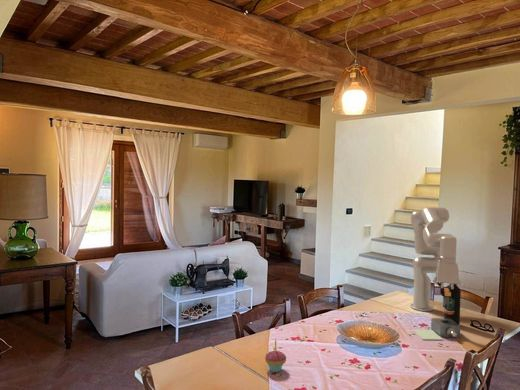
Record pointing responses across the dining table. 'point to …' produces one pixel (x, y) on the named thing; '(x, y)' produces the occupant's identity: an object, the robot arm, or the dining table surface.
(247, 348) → the dining table surface
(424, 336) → the mat
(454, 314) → the wine bottle
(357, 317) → the dining table surface
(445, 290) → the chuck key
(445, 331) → the chuck block
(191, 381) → the dining table surface
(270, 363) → the cupcake
